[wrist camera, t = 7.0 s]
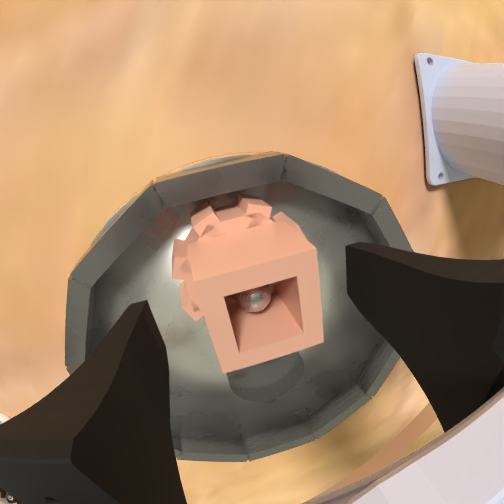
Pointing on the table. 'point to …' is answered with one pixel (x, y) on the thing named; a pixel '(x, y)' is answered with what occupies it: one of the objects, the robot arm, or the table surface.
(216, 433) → the plate
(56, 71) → the table surface
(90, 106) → the table surface
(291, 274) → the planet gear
